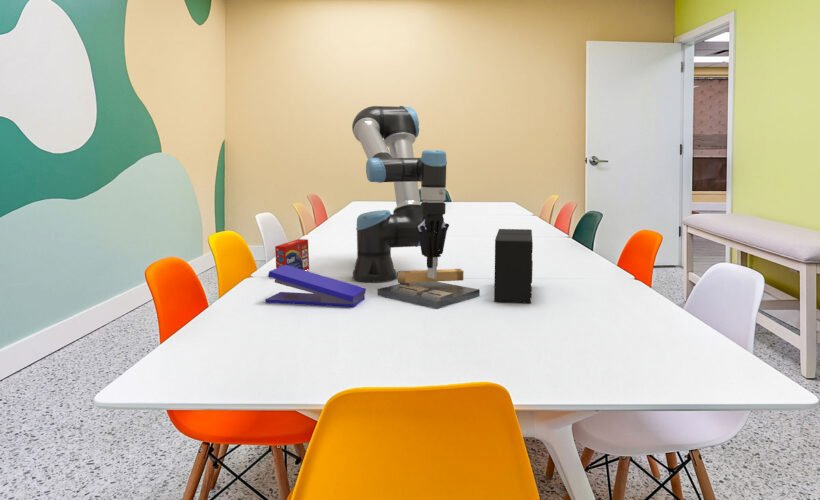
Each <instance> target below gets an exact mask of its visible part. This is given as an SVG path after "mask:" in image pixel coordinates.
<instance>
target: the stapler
mask: <svg viewBox="0 0 820 500" xmlns="http://www.w3.org/2000/svg"><path fill="white" fill-rule="evenodd" d="M267 277H269V278H272V279H274V283H276V284H279V285H283V286H286V287H290V288H293V289H297V290H300V291H303V292H289V291H280V292H277V293H276V294H273V295H271V296H269V297H267V298H265V302H267V303H266V304H284V305H287V304H288V305H300V306H301V305H304V306H319V307H337V308H338V307H339V308H355V307H356V306H358V305H359V304H360V303H361V302H363V301H365V297H366V295H365V294H366V291H367V288H366V287H362V286H359V285H356V284H352V283H349V282H346V281H342V280H338V279H335V278H333V277H330V276H329V277H328V276H325V275H321V274H319V273H314V272H312V271H309V270H307V271H305V270H302V269H298V268H295V267H292V266H288V265H284V266H282V267H279V268H276V267H275V268H274V269H271V270H269V271H268V275H267ZM304 291H305V292H304ZM308 292H309V293H308Z"/></svg>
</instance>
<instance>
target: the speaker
mask: <svg viewBox="0 0 820 500" xmlns="http://www.w3.org/2000/svg"><path fill="white" fill-rule="evenodd" d="M497 230H498V231H497V233H496V236H495V239H494V240H495V241H494V286H493V287H494V291H493V292H494V294H493V295H494V296H493V297H494V298H493V302H496V303H500V302H501V303H502V302H503V303H505V302H507V303H508V302H509V303H524V304H529V303H531V299H532V295H533V293H532V291H533V290H532V289H533V286H532V283H533V265H534V264H533V249H534V248H533V247H534V246H533V243H534V242H533V229H531V228H530V229H528V228H527V229H523V228H522V229H521V228H519V229H518V228H516V229H515V228H514V229H513V228H512V229H511V228H498V229H497ZM531 304H532V303H531Z"/></svg>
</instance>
